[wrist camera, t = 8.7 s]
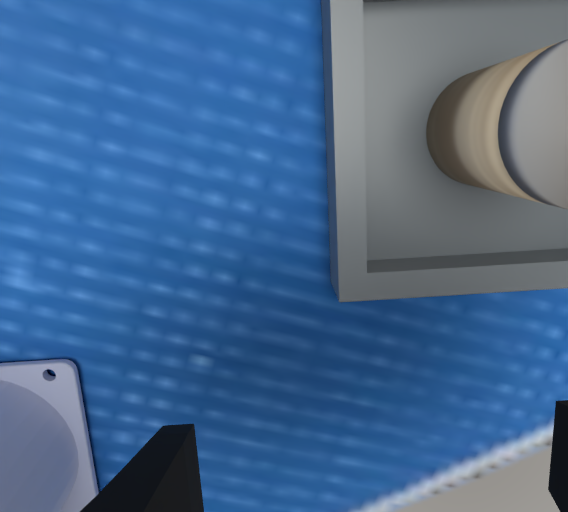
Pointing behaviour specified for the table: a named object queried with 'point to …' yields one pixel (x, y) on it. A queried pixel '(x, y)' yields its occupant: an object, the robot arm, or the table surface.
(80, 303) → the table surface
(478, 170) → the cylinder
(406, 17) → the tray
